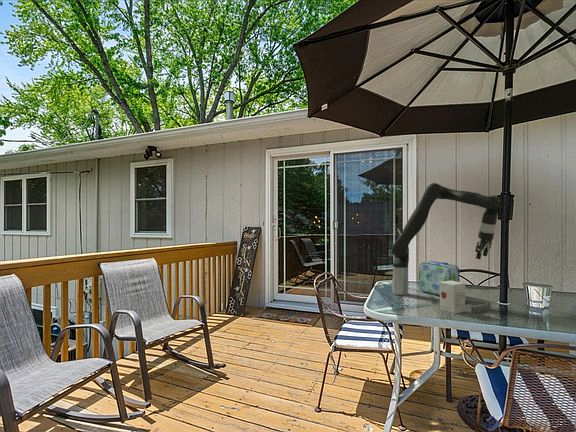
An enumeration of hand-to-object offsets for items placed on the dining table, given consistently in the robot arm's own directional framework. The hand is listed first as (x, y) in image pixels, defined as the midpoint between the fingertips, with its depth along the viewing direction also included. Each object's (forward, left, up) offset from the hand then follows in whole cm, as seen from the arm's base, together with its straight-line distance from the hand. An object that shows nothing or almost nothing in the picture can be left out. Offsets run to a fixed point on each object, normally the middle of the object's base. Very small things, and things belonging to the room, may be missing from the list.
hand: (481, 257), depth 200 cm
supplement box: (-24, -21, -26) cm, 41 cm away
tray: (-14, -13, -26) cm, 32 cm away
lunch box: (-17, +19, -26) cm, 37 cm away
